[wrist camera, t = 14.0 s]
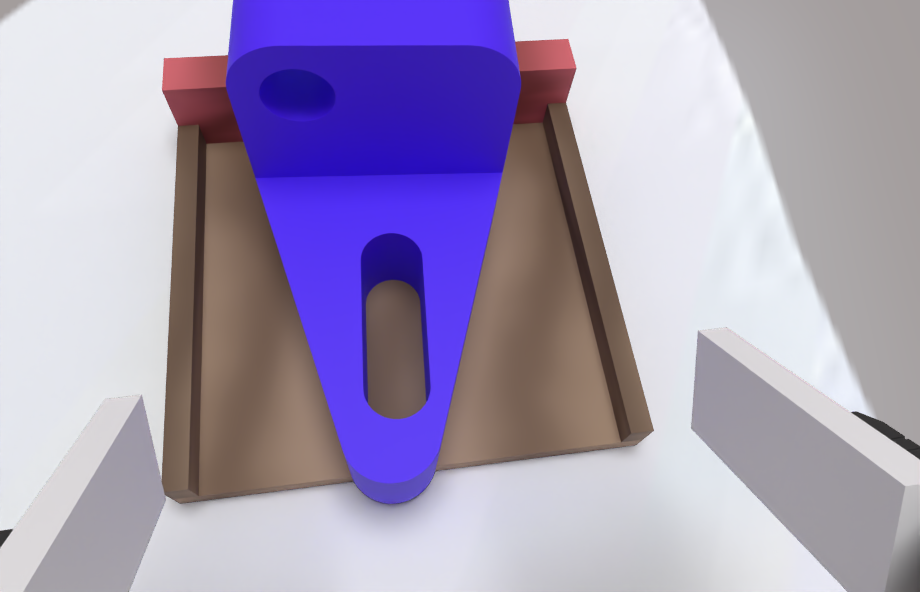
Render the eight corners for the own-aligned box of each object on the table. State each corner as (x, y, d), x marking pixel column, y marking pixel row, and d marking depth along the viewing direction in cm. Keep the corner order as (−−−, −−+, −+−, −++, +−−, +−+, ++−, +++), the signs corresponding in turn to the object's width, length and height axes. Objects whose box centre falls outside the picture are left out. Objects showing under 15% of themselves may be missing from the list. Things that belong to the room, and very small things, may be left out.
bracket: (275, 155, 35) (221, -47, 25) (483, 151, 37) (515, -43, 26) (259, 513, 28) (170, 440, 17) (523, 494, 29) (593, 415, 18)
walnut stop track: (180, 503, 29) (138, 480, 24) (192, 127, 37) (163, 58, 33) (635, 445, 31) (674, 414, 27) (549, 105, 40) (568, 39, 35)
